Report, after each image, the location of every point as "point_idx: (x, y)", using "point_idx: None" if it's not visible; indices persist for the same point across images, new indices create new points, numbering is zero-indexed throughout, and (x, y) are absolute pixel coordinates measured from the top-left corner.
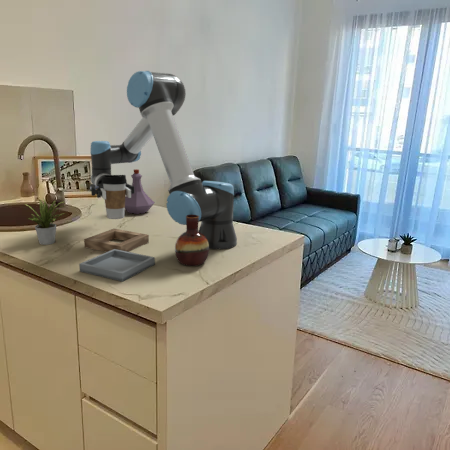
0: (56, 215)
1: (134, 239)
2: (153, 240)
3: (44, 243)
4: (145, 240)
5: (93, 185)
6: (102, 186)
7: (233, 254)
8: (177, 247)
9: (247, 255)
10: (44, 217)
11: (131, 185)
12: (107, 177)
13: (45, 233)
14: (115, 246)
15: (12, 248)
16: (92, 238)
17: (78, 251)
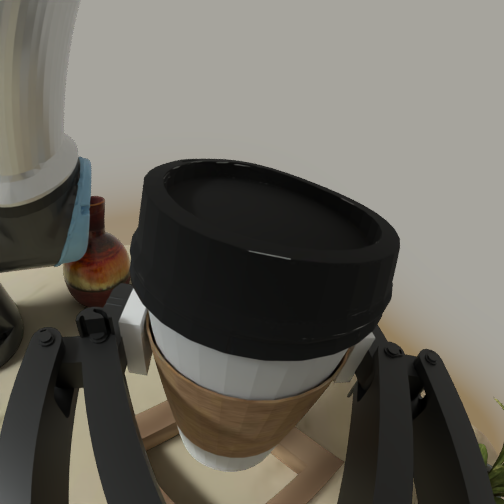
0: None
1: (163, 410)
2: (76, 455)
3: None
4: None
5: (479, 495)
6: (386, 448)
7: (22, 286)
8: (129, 262)
9: (14, 275)
10: (502, 455)
11: (15, 390)
12: (330, 190)
13: None
14: None
15: (487, 458)
16: (315, 465)
17: (344, 439)
